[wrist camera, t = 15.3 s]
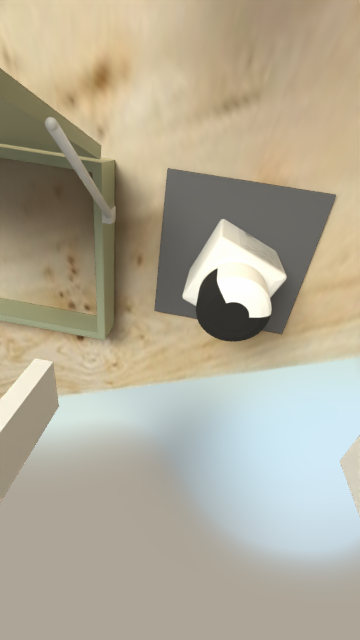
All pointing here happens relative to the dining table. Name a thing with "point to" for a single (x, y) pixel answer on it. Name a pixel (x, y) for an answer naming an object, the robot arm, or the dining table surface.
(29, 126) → the lid
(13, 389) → the robot arm
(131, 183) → the dining table surface
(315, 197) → the mat
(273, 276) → the container
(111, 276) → the case
